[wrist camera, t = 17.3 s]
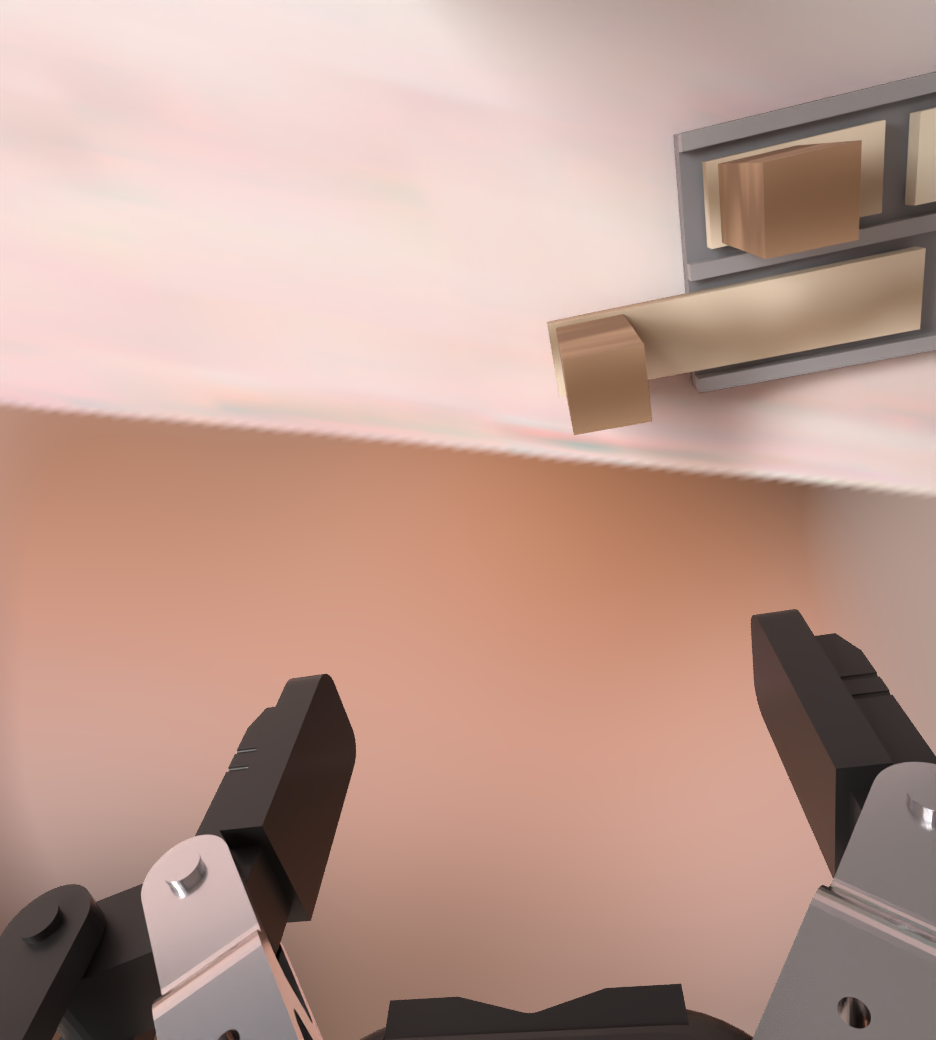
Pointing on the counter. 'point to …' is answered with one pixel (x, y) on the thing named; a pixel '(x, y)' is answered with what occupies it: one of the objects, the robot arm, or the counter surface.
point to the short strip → (795, 192)
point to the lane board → (902, 224)
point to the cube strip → (727, 330)
